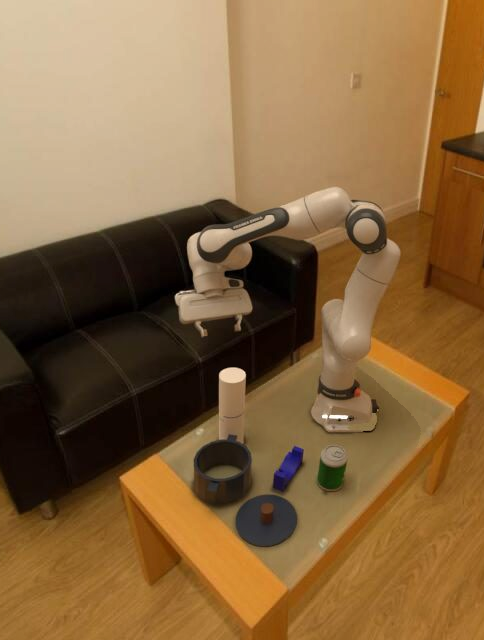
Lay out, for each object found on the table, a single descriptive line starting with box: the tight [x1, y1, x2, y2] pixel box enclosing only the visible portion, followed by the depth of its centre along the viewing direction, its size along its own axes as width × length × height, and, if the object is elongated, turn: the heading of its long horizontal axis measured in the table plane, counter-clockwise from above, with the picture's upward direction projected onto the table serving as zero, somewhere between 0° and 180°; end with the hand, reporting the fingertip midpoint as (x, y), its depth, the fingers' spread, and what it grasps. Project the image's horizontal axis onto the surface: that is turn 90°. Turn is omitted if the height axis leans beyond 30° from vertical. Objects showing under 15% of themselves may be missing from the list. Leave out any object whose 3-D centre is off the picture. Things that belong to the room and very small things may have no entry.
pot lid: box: [235, 493, 298, 548], centre depth 126 cm, size 15×15×5 cm
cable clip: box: [272, 445, 305, 493], centre depth 139 cm, size 12×4×6 cm, turn 160°
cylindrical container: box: [218, 367, 247, 445], centre depth 143 cm, size 7×7×25 cm
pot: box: [193, 434, 253, 506], centre depth 132 cm, size 15×20×10 cm
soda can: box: [316, 444, 349, 492], centre depth 138 cm, size 8×8×12 cm
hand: (221, 333), depth 140 cm, fingers open, 8 cm apart
